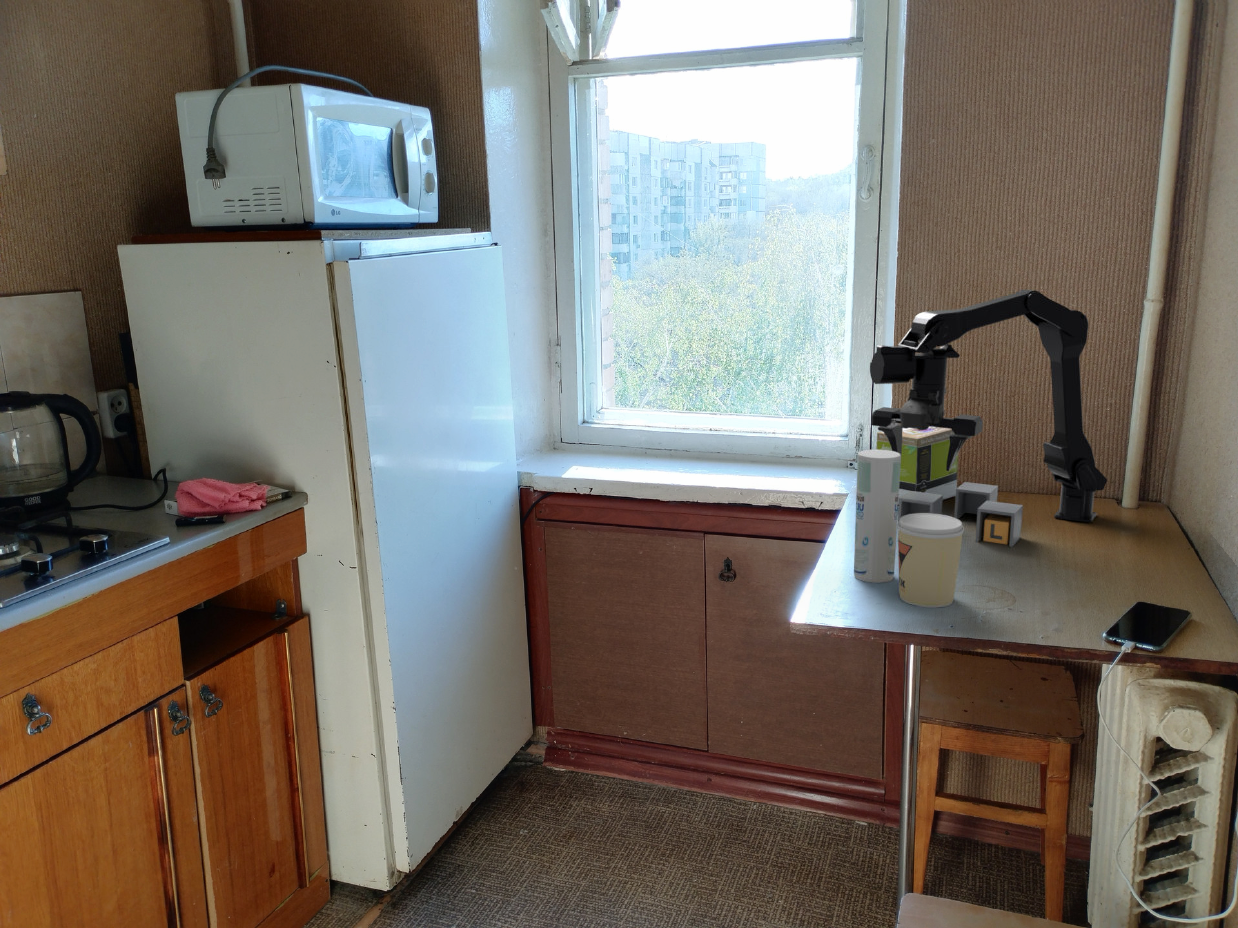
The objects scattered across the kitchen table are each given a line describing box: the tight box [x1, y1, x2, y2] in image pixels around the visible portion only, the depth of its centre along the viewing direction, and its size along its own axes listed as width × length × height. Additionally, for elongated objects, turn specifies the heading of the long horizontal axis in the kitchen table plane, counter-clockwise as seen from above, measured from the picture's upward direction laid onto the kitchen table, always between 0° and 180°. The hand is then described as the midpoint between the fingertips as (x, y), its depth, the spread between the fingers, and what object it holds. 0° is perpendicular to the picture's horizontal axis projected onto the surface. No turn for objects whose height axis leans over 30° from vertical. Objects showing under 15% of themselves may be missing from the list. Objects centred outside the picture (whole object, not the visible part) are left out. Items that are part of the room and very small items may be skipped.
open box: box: [953, 481, 999, 520], centre depth 185 cm, size 6×6×6 cm
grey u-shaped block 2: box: [897, 491, 944, 530], centre depth 179 cm, size 6×6×6 cm
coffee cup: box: [897, 513, 965, 609], centre depth 143 cm, size 9×9×12 cm
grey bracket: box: [974, 501, 1024, 548], centre depth 171 cm, size 6×6×6 cm
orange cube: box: [982, 514, 1012, 545], centre depth 171 cm, size 4×4×4 cm
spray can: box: [853, 449, 901, 584], centre depth 152 cm, size 6×6×20 cm
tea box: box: [876, 426, 959, 505], centre depth 198 cm, size 15×10×15 cm, turn 130°
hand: (922, 467), depth 177 cm, fingers open, 9 cm apart
